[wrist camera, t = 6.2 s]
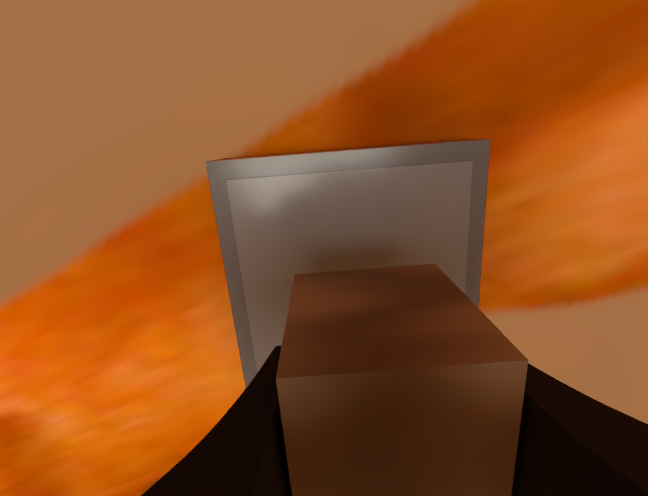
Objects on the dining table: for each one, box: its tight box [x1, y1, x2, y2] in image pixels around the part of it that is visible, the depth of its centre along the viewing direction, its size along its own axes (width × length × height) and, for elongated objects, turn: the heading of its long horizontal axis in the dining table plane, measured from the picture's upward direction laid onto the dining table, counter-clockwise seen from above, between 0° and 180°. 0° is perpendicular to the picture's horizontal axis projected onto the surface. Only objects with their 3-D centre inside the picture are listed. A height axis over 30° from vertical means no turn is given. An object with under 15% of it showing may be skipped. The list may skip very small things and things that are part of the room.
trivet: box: [206, 139, 490, 388], centre depth 17 cm, size 12×12×3 cm
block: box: [276, 264, 528, 496], centre depth 9 cm, size 4×4×5 cm
